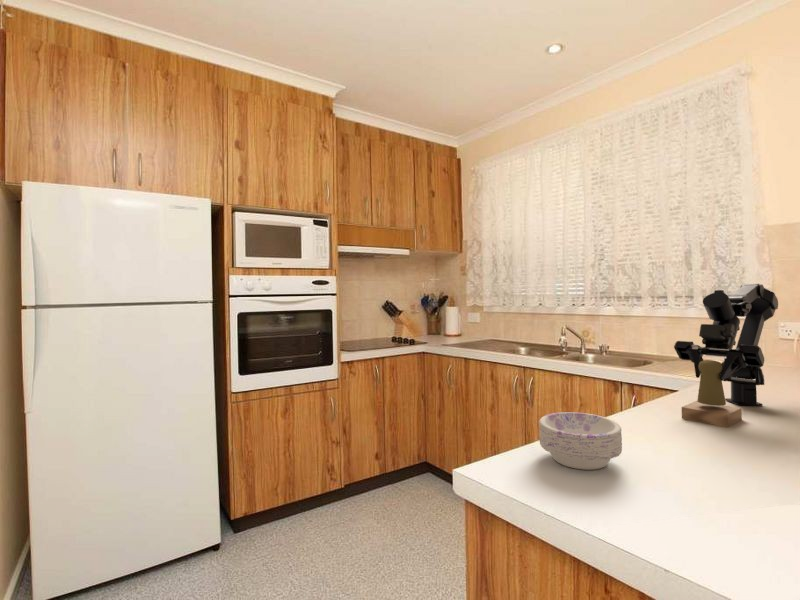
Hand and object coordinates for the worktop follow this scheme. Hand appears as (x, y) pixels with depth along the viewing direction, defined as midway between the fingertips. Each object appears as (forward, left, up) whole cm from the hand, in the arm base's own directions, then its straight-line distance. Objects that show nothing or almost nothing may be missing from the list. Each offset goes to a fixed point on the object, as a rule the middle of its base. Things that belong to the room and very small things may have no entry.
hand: (708, 378), depth 108 cm
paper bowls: (+32, -40, -11) cm, 52 cm away
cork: (-1, +1, -7) cm, 7 cm away
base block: (-1, +1, -11) cm, 11 cm away
